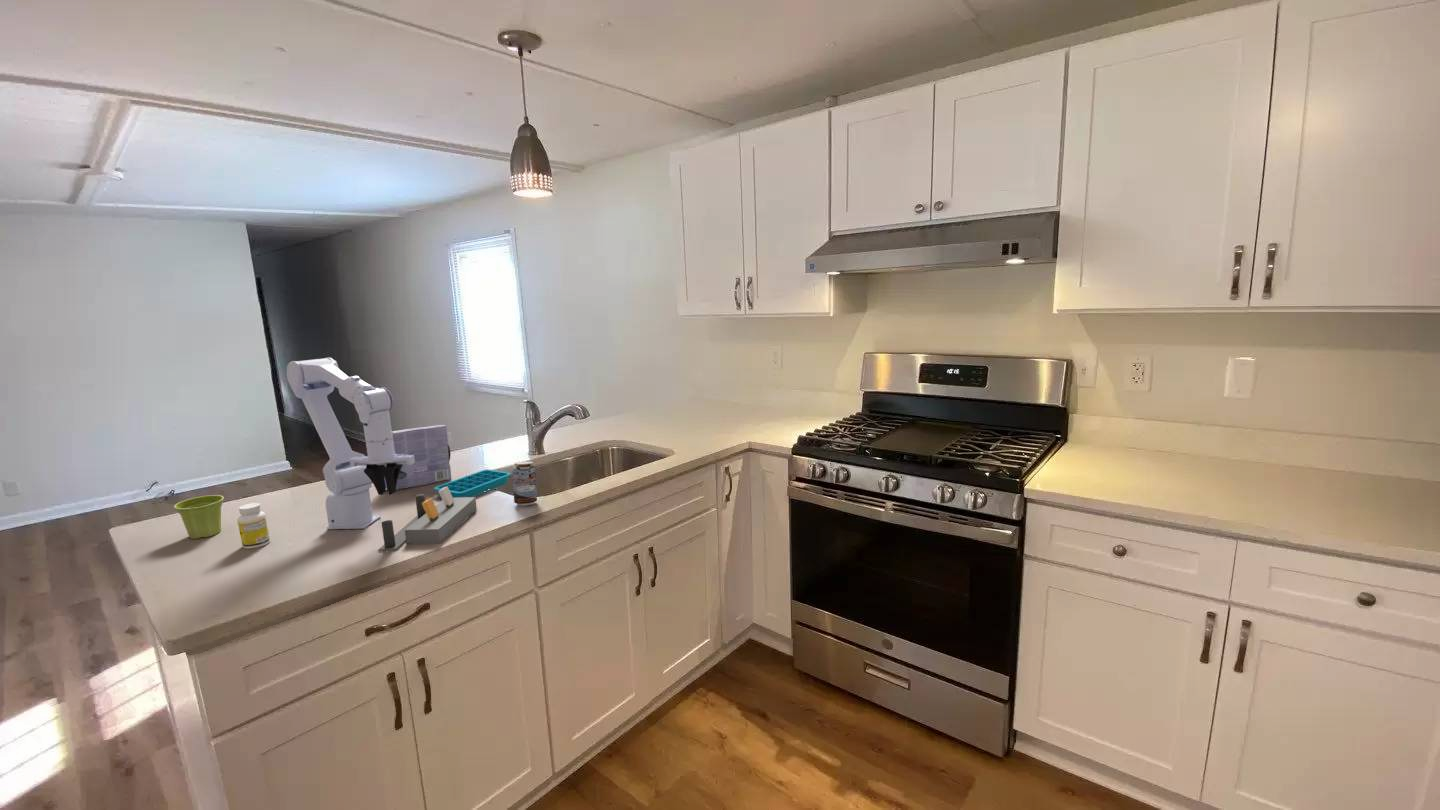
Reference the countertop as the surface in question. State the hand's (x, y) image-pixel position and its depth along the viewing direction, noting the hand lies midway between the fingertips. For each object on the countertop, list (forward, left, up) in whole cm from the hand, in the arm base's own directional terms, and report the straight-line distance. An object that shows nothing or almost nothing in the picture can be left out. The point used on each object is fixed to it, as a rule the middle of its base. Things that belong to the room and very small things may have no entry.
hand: (387, 493), depth 146 cm
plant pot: (-48, +2, -11) cm, 49 cm away
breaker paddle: (+11, 0, -6) cm, 12 cm away
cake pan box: (-12, +39, -11) cm, 42 cm away
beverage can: (+27, +19, -11) cm, 35 cm away
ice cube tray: (+7, +33, -11) cm, 36 cm away
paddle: (+11, +9, -6) cm, 15 cm away
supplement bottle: (-30, -5, -11) cm, 32 cm away
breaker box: (+11, +5, -10) cm, 16 cm away
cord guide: (+4, 0, -11) cm, 11 cm away
